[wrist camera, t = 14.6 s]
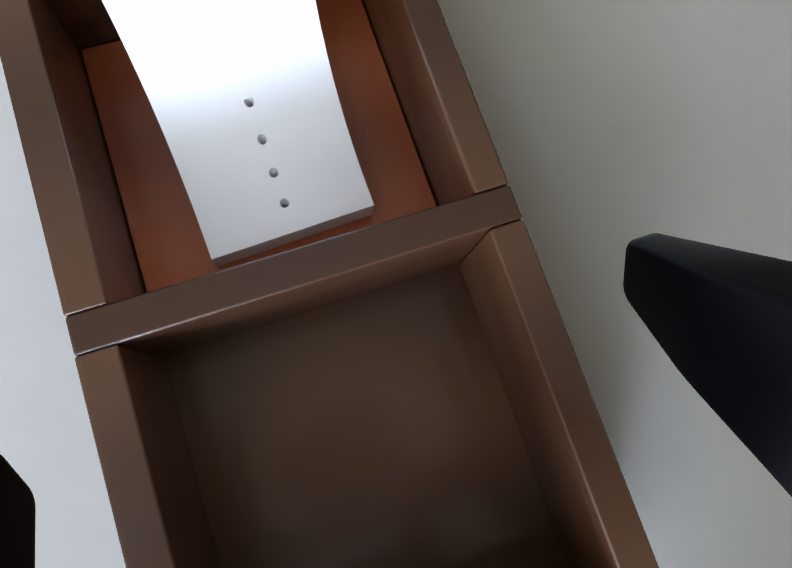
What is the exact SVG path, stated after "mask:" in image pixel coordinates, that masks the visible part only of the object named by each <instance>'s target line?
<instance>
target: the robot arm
mask: <svg viewBox="0 0 792 568" xmlns="http://www.w3.org/2000/svg"><path fill="white" fill-rule="evenodd" d="M623 287H624V292H625V296H626V298H627V300H628V301H629V303H630V304H631V306H632V307H633V308H634V310H635V311H636V312H637V314H638V315H639V317H640V318H641V319H642V321H643V322H644V323H645V325H646V326H647V328H648V329H649V330H650V332H651V333H652V335H653V336H654V337H655V339H656V340H657V341H658V343H659V344H660V346H661V347H662V348H663V350H664V351H665V352H666V354H667V355H668V357H669V358H670V359H671V361H672V362H673V363H674V365H675V366H676V367H677V369H678V370H679V371H680V372H681V374H682V375H683V376H684V377H685V379H686V380H687V381H688V382H689V383H690V384H691V386H692V387H693V388H694V389H695V390H696V391H697V392H698V394H699V395H700V396H701V397H702V398H703V399H704V400H705V401H706V402H707V404H708V405H709V406H710V407H711V408H712V409H713V410H714V411H715V412H716V413H717V415H718V416H719V417H720V418H721V419H722V420H723V421H724V422H725V423H726V425H727V426H728V427H729V428H730V429H731V430H732V431H733V432H734V433H735V435H736V436H737V437H738V438H739V439H740V440H741V441H742V442H743V443H744V445H745V446H746V447H747V448H748V449H749V450H750V451H751V452H752V453H753V454H754V456H755V457H756V458H757V459H758V460H759V461H760V462H761V463H762V464H763V466H764V467H765V468H766V469H767V470H768V471H769V472H770V473H771V474H772V476H773V477H774V478H775V479H776V480H777V481H778V482H779V483H780V484H781V486H782V487H783V488H784V489H785V490H786V491H787V492H788V493H789V494H790V496H791V497H792V262H791V261H787V260H782V259H777V258H772V257H768V256H763V255H758V254H753V253H749V252H744V251H739V250H734V249H730V248H725V247H720V246H715V245H711V244H706V243H701V242H696V241H692V240H687V239H682V238H677V237H673V236H668V235H663V234H658V233H653V234H649V235H646V236H643V237H640V238H637V239H634V240H632V241H631V242H629V244H628V245H627V247H626V255H625V268H624V281H623ZM0 568H35V500H34V497H33V494H32V492H31V490H30V488H29V487H28V486H27V484H26V483H25V482H24V481H23V480H22V478H21V477H20V476H19V475H18V474H17V473H16V471H15V470H14V469H13V468H12V467H11V465H10V464H9V463H8V462H7V461H6V459H5V458H4V457H3V456H2V455H1V454H0Z"/></svg>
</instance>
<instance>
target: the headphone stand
mask: <svg viewBox="0 0 792 568" xmlns="http://www.w3.org/2000/svg"><path fill="white" fill-rule="evenodd" d="M102 2H103V4H104V6H105V8H106V10H107V12H108V14H109V16H110V18H111V20H112V22H113V24H114V26H115V28H116V30H117V32H118V34H119V36H120V38H121V40H122V42H123V45H124V47H125V49H126V51H127V53H128V55H129V57H130V59H131V62H132V64H133V66H134V68H135V70H136V72H137V74H138V77H139V79H140V81H141V83H142V86H143V88H144V90H145V92H146V94H147V97H148V99H149V101H150V103H151V106H152V108H153V110H154V113H155V115H156V117H157V120H158V122H159V124H160V127H161V129H162V131H163V134H164V136H165V139H166V141H167V143H168V146H169V148H170V151H171V153H172V156H173V158H174V160H175V163H176V165H177V168H178V170H179V173H180V175H181V178H182V181H183V183H184V186H185V188H186V191H187V193H188V196H189V199H190V201H191V204H192V207H193V209H194V212H195V215H196V217H197V220H198V223H199V226H200V228H201V231H202V234H203V237H204V239H205V242H206V245H207V248H208V251H209V254H210V257H211V260H212V261H213V262H214V263H215V264H216V266H217V267H219V266H222V265H225V264H228V263H231V262H234V261H237V260H240V259H243V258H246V257H249V256H252V255H255V254H258V253H261V252H264V251H266V250H269V249H272V248H275V247H278V246H281V245H284V244H287V243H290V242H293V241H296V240H299V239H302V238H305V237H308V236H311V235H314V234H317V233H320V232H323V231H326V230H329V229H332V228H335V227H338V226H341V225H344V224H347V223H350V222H353V221H356V220H359V219H362V218H365V217H368V216H371V215H373V210H374V203H373V200H372V198H371V195H370V192H369V190H368V187H367V185H366V182H365V179H364V176H363V173H362V171H361V168H360V165H359V162H358V159H357V156H356V153H355V150H354V147H353V144H352V141H351V138H350V135H349V131H348V128H347V125H346V122H345V118H344V115H343V112H342V108H341V105H340V101H339V98H338V94H337V90H336V87H335V83H334V79H333V76H332V72H331V68H330V64H329V60H328V56H327V52H326V47H325V43H324V39H323V34H322V30H321V25H320V20H319V15H318V11H317V6H316V1H315V0H102Z"/></svg>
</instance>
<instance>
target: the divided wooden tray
mask: <svg viewBox="0 0 792 568" xmlns="http://www.w3.org/2000/svg"><path fill="white" fill-rule="evenodd" d="M315 1H316V6H317V11H318V15H319V20H320V25H321V30H322V34H323V39H324V43H325V47H326V52H327V56H328V60H329V64H330V68H331V72H332V76H333V79H334V83H335V87H336V90H337V94H338V98H339V101H340V105H341V108H342V112H343V115H344V118H345V122H346V125H347V128H348V131H349V135H350V138H351V141H352V144H353V147H354V150H355V153H356V156H357V159H358V162H359V165H360V168H361V171H362V173H363V176H364V179H365V182H366V185H367V187H368V190H369V192H370V195H371V198H372V200H373V203H374V210H373V215H371V216H368V217H365V218H362V219H359V220H356V221H353V222H350V223H347V224H344V225H341V226H338V227H335V228H332V229H329V230H326V231H323V232H320V233H317V234H314V235H311V236H308V237H305V238H302V239H299V240H296V241H293V242H290V243H287V244H284V245H281V246H278V247H275V248H272V249H269V250H266V251H264V252H261V253H258V254H255V255H252V256H249V257H246V258H243V259H240V260H237V261H234V262H231V263H228V264H225V265H222V266H219V267H217V266H216V264H215V263H214V262H213V261H212V260H211V257H210V254H209V251H208V248H207V245H206V242H205V239H204V237H203V234H202V231H201V228H200V226H199V223H198V220H197V217H196V215H195V212H194V209H193V207H192V204H191V201H190V199H189V196H188V193H187V191H186V188H185V186H184V183H183V181H182V178H181V175H180V173H179V170H178V168H177V165H176V163H175V160H174V158H173V156H172V153H171V151H170V148H169V146H168V143H167V141H166V139H165V136H164V134H163V131H162V129H161V127H160V124H159V122H158V120H157V117H156V115H155V113H154V110H153V108H152V106H151V103H150V101H149V99H148V97H147V94H146V92H145V90H144V88H143V86H142V83H141V81H140V79H139V77H138V74H137V72H136V70H135V68H134V66H133V64H132V62H131V59H130V57H129V55H128V53H127V51H126V49H125V47H124V45H123V42H122V40H121V38H120V36H119V34H118V32H117V30H116V28H115V26H114V24H113V22H112V20H111V18H110V16H109V14H108V12H107V10H106V8H105V6H104V4H103V2H102V0H0V57H1V61H2V65H3V69H4V73H5V78H6V82H7V86H8V90H9V94H10V98H11V102H12V106H13V110H14V114H15V118H16V122H17V126H18V130H19V134H20V138H21V143H22V147H23V151H24V155H25V159H26V163H27V167H28V171H29V175H30V179H31V183H32V187H33V191H34V195H35V199H36V204H37V208H38V212H39V216H40V220H41V224H42V228H43V232H44V236H45V240H46V244H47V248H48V252H49V256H50V260H51V264H52V269H53V273H54V277H55V281H56V285H57V289H58V293H59V297H60V301H61V305H62V309H63V313H64V315H65V316H67V317H66V323H67V327H68V331H69V335H70V339H71V343H72V347H73V351H74V354H75V355H76V356H77V357H76V358H75V362H76V366H77V370H78V374H79V378H80V382H81V386H82V390H83V394H84V398H85V402H86V406H87V410H88V414H89V418H90V423H91V427H92V431H93V435H94V439H95V443H96V447H97V451H98V455H99V459H100V463H101V467H102V471H103V475H104V479H105V483H106V488H107V492H108V496H109V500H110V504H111V508H112V512H113V516H114V520H115V524H116V528H117V532H118V536H119V540H120V544H121V548H122V553H123V557H124V561H125V565H126V568H659V567H658V564H657V562H656V559H655V556H654V554H653V551H652V549H651V546H650V544H649V541H648V538H647V536H646V533H645V531H644V528H643V526H642V523H641V521H640V518H639V515H638V513H637V510H636V508H635V505H634V503H633V500H632V498H631V495H630V492H629V490H628V487H627V485H626V482H625V480H624V477H623V475H622V472H621V469H620V467H619V464H618V462H617V459H616V457H615V454H614V452H613V449H612V446H611V444H610V441H609V439H608V436H607V434H606V431H605V429H604V426H603V423H602V421H601V418H600V416H599V413H598V411H597V408H596V405H595V403H594V400H593V398H592V395H591V393H590V390H589V388H588V385H587V382H586V380H585V377H584V375H583V372H582V370H581V367H580V365H579V362H578V359H577V357H576V354H575V352H574V349H573V347H572V344H571V342H570V339H569V336H568V334H567V331H566V329H565V326H564V324H563V321H562V319H561V316H560V313H559V311H558V308H557V306H556V303H555V301H554V298H553V296H552V293H551V290H550V288H549V285H548V283H547V280H546V278H545V275H544V272H543V270H542V267H541V265H540V262H539V260H538V257H537V255H536V252H535V249H534V247H533V244H532V242H531V239H530V237H529V234H528V232H527V229H526V226H525V224H524V222H523V220H520V219H521V214H520V211H519V209H518V206H517V204H516V201H515V198H514V196H513V193H512V191H511V188H510V187H509V186H506V185H507V184H508V181H507V178H506V176H505V173H504V171H503V168H502V166H501V163H500V160H499V158H498V155H497V153H496V150H495V148H494V145H493V143H492V140H491V137H490V135H489V132H488V130H487V127H486V125H485V122H484V120H483V117H482V114H481V112H480V109H479V107H478V104H477V102H476V99H475V97H474V94H473V91H472V89H471V86H470V84H469V81H468V79H467V76H466V73H465V71H464V68H463V66H462V63H461V61H460V58H459V56H458V53H457V50H456V48H455V45H454V43H453V40H452V38H451V35H450V33H449V30H448V27H447V25H446V22H445V20H444V17H443V15H442V12H441V10H440V7H439V4H438V2H437V0H315Z"/></svg>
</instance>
